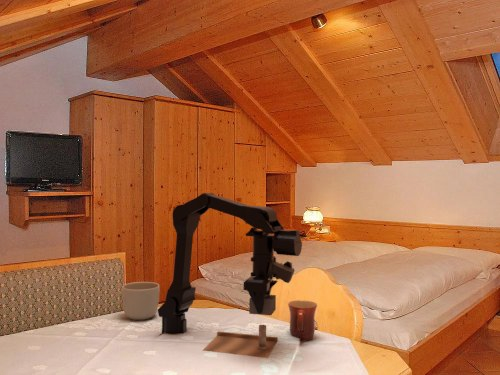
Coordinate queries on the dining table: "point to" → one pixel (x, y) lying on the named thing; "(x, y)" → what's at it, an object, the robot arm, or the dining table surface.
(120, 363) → the dining table surface
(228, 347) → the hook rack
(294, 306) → the mug
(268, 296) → the gray square frame
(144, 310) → the planter
